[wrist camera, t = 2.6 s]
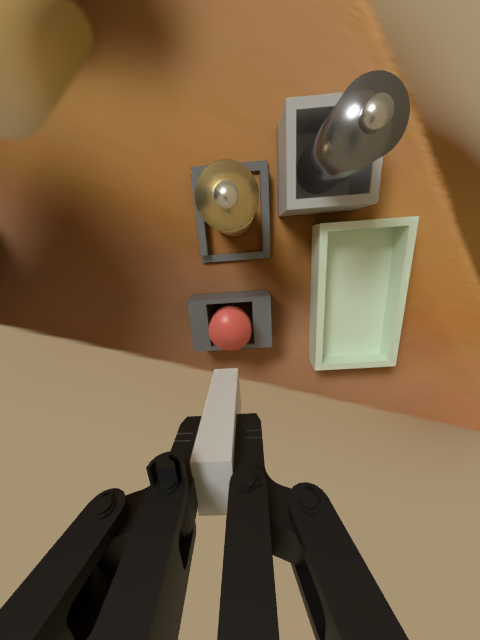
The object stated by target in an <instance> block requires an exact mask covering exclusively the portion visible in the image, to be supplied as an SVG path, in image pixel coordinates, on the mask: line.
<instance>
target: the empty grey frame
mask: <svg viewBox="0 0 480 640" xmlns="http://www.w3.org/2000/svg"><path fill="white" fill-rule="evenodd" d="M241 164H243V165H244V166H246V167H247V168H248V169H249V170H250V171H251V172H255V171H259V172H260V198H261V224H262V250H263V251H258V252H244V253H230V254H217V255H209V250H208V241H207V232H206V223H205V221H204V220H203V218H202V217H201V215H200V214H199V212H198V209H197V207H196V203H195V187H196V183H197V180H198V178H199V176H200V174H201V173H202V171H203V170H204V169H205V168H206V167H207V166H198V167H191V169H192V174H191V179H192V188H193V196H194V205H195V213H196V221H197V230H198V238H199V246H200V255H201V256H202V262H203V263H207V262H221V261H235V260H249V259H262V258H270V215H269V180H268V167H267V161H256V162H244V163H241Z"/></svg>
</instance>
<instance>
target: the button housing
mask: <svg viewBox="0 0 480 640" xmlns="http://www.w3.org/2000/svg"><path fill="white" fill-rule="evenodd" d="M236 302H251V303H252V321H253V333H251V336H250V339H249V341H248V342H247V344H246V345H245V346H243V347H242V348H240V349H248V348H265V347H272V324H271V295H270V294H269V292H268V290H255V291H240V292H225V293H210V294H195V295H193V296H192V297H191V298H190V299H189V300H188V301H187V305H188V312H189V319H190V325H191V332H192V339H193V346H194V352H197V351H214V350H223V349H221V348H219V347H217V346H216V345H215V344H214V343H213V342H212V341H211V339H210V336H209V324H210V322H211V319H212V308H211V304H221V303H236Z"/></svg>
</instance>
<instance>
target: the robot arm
mask: <svg viewBox="0 0 480 640" xmlns="http://www.w3.org/2000/svg"><path fill="white" fill-rule="evenodd" d="M146 469H147V473H148V476H149V481H150V484H151V485H150V486H149V487H147V488H145V489H143V490H140V491H137V492H134V493H131V494H129V495H126V496H125V494H124V492H123V491H122V490H120V489H117V488H113V489H109V490H106V491H103V492H102V493H100V494H99V495H97V496H96V497H95V498H94V499H93V500H91V502H89V503H88V505H87V506H86V507H85V508H84V509H83V511H82V512H81V513H80V514H79V515H78V517H77V518H76V519H75V520H74V522H73V523H72V524H71V525H70V526H69V528H68V529H67V530H66V531H65V532H64V534H63V535H62V536H61V537H60V539H58V541H57V542H56V543H55V544H54V545H53V547H52V548H51V549H50V550H49V551H48V553H47V554H46V555H45V556H44V557H43V559H42V560H41V561H40V562H39V564H38V565H37V566H36V567H35V568H34V569H33V571H32V572H31V573H30V574H29V575H28V577H27V578H26V579H25V580H24V581H23V583H22V584H21V585H20V586H19V588H18V589H17V590H16V591H15V592H14V593H13V595H12V596H11V597H10V598H9V599H8V601H7V602H6V603H5V604H4V605H3V607H2V608H1V609H0V640H178V634H179V629H180V623H181V618H182V612H183V605H184V600H185V594H186V589H187V583H188V577H189V572H190V566H191V560H192V554H193V548H194V543H195V537H196V524H195V518H196V513H197V507H198V512H199V516H204V515H227V518H226V532H225V545H224V558H223V571H222V584H221V598H220V611H219V625H218V637H217V640H279V630H278V618H277V605H276V593H275V582H274V569H273V557H272V555H274V556H276V557H279V558H281V559H283V560H286V561H288V562H290V563H291V565H292V568H293V571H294V574H295V578H296V581H297V584H298V587H299V590H300V592H301V596H302V599H303V602H304V605H305V608H306V611H307V614H308V617H309V620H310V623H311V626H312V629H313V632H314V635H315V639H316V640H409V639H408V638H407V636H406V634H405V633H404V630H403V629H402V627H401V625H400V623H399V622H398V620H397V618H396V617H395V615H394V613H393V611H392V609H391V608H390V606H389V604H388V602H387V601H386V599H385V597H384V595H383V593H382V592H381V590H380V588H379V586H378V585H377V583H376V581H375V579H374V578H373V576H372V574H371V572H370V571H369V569H368V567H367V565H366V563H365V562H364V560H363V558H362V556H361V555H360V553H359V551H358V549H357V548H356V546H355V544H354V543H353V541H352V539H351V537H350V535H349V534H348V532H347V530H346V528H345V527H344V525H343V523H342V521H341V520H340V518H339V516H338V514H337V512H336V511H335V509H334V507H333V505H332V504H331V502H330V500H329V498H328V497H327V495H326V494H325V493H324V492H323V491H322V489H320V488H319V487H317V486H316V485H314V484H311V483H307V482H306V483H299V484H297V485H295V486H293V488H292V489H291V488H288V487H284V486H282V485H279V484H277V483H276V482H274V481H273V480H272V479H271V478H270V477H269V476H268V474H267V473H266V470H265V466H264V454H263V441H262V430H261V420H260V419H259V417H258V416H257V414H256V413H250V414H241V400H240V387H239V375H238V368H229V369H214V372H213V376H212V380H211V383H210V387H209V392H208V395H207V399H206V402H205V406H204V410H203V414H202V416H195V417H194V416H193V417H187V418H186V419H185V420H184V421H183V422H182V423H181V425H180V427H179V430H178V433H177V435H176V438H175V442H174V443H173V446H172V449H171V451H170V452H166V453H162V454H160V455H158V456H156V457H155V458H154V459H153V460H152V461H151V462H150V463H149V465H148V466H147V468H146Z"/></svg>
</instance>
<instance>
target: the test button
mask: <svg viewBox="0 0 480 640" xmlns="http://www.w3.org/2000/svg"><path fill="white" fill-rule="evenodd" d="M209 336H210V339H211V341H212V342H213V343H214V344H215V345H216V346H217V347H219V348H221V349H223V350H227V351H233V350H238V349H240V348H242V347H243V346H245V345H246V344H247V342H248V341H249V339H250V336H251V322H250V318H249V316H248V314H247V313H246V312H245V311H244V310H243V309H241V308H239V307H236V306H225V307H222V308H220V309H219V310H217V311H216V312H215V314H214V315H213V317H212V319H211V322H210V324H209Z"/></svg>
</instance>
